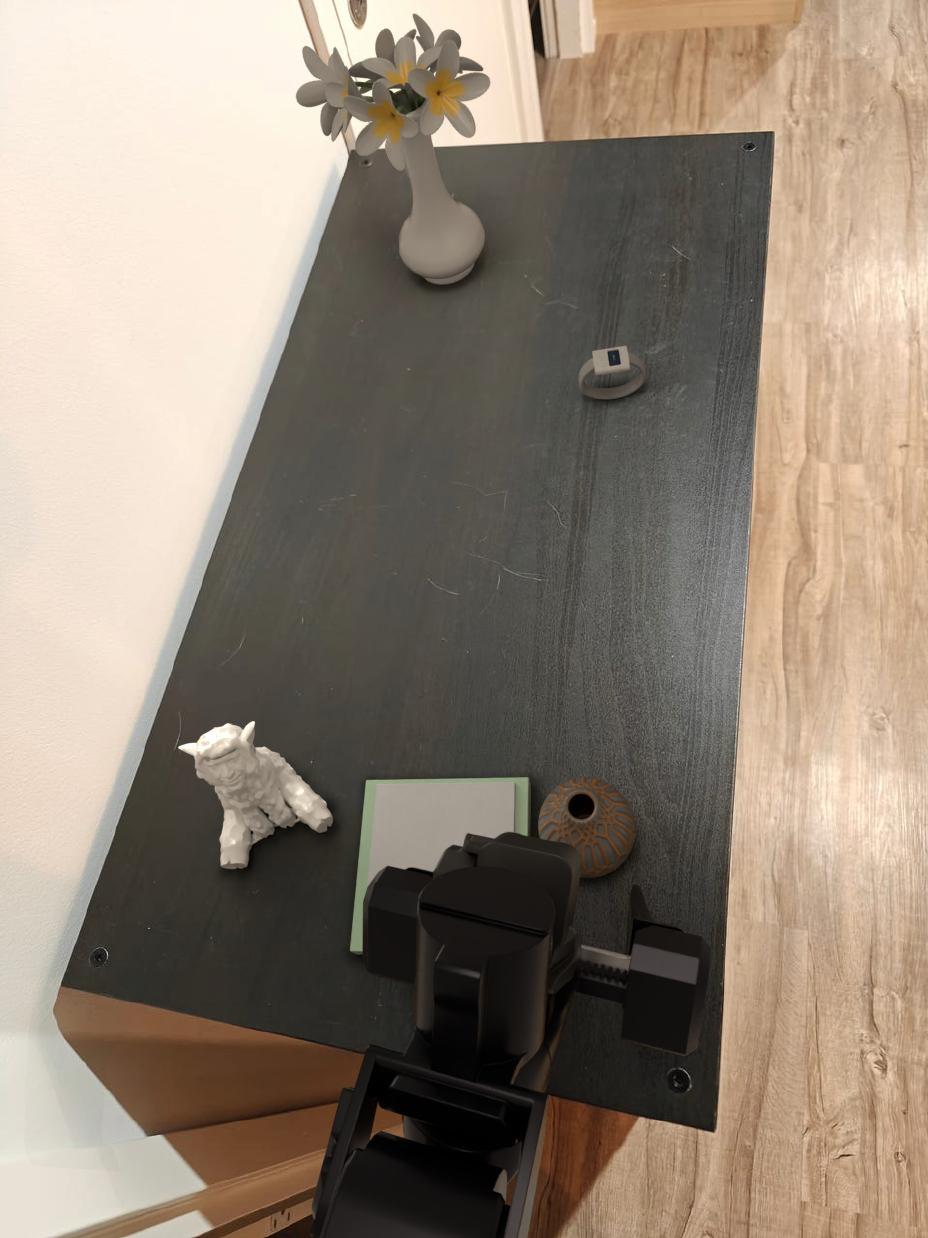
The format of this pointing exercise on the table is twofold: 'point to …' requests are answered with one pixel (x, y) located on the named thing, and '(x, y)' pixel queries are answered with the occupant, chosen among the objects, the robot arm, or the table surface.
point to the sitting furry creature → (253, 790)
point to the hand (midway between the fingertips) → (561, 875)
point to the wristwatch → (611, 363)
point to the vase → (590, 823)
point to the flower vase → (409, 134)
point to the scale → (431, 824)
